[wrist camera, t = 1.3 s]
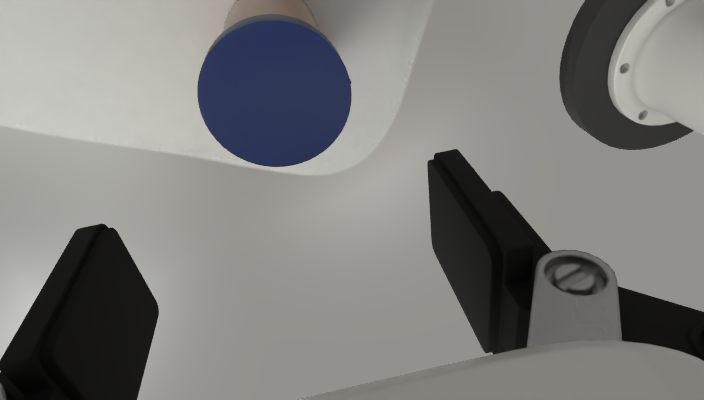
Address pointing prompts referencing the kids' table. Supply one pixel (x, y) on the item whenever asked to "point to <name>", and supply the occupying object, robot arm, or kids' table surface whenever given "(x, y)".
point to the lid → (274, 90)
